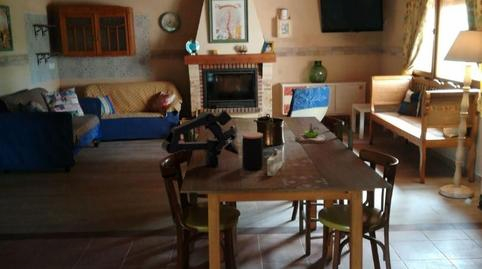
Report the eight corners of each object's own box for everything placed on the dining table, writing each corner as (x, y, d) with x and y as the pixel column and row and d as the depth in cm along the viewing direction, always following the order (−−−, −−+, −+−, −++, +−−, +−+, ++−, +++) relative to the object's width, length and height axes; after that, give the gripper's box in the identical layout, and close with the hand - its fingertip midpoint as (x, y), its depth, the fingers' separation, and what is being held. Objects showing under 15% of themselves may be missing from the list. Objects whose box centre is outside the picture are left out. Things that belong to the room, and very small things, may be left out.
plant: (325, 137, 312) (326, 120, 310) (327, 144, 293) (327, 126, 291) (295, 136, 315) (296, 120, 312) (295, 143, 296) (295, 126, 293)
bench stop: (267, 175, 231) (267, 153, 228) (276, 164, 249) (277, 144, 247) (273, 176, 230) (273, 154, 227) (282, 164, 248) (282, 144, 246)
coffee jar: (248, 164, 250) (248, 131, 246) (266, 166, 245) (266, 133, 241) (238, 169, 241) (238, 135, 237) (256, 172, 236) (256, 137, 232)
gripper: (221, 125, 233) (243, 148, 232) (233, 118, 251) (253, 139, 250) (207, 139, 237) (228, 162, 236) (219, 131, 255) (239, 153, 254)
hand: (237, 153), depth 244 cm, fingers closed
